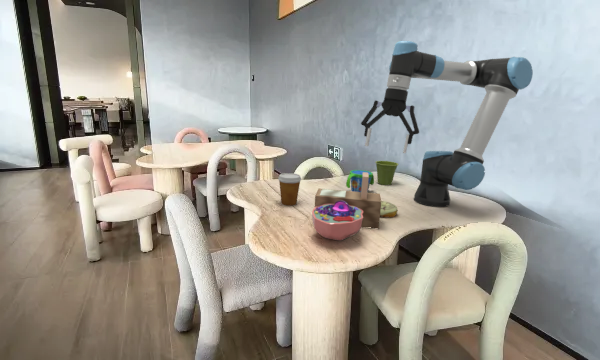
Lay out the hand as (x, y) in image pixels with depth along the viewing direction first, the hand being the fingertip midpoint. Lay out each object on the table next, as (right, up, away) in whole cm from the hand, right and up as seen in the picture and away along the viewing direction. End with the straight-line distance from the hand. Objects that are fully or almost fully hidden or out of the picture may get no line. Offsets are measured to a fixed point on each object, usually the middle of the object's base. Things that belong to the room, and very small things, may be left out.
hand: (385, 149), depth 125 cm
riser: (-13, -26, +4) cm, 29 cm away
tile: (-8, -17, +1) cm, 18 cm away
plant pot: (+14, -13, +59) cm, 62 cm away
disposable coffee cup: (-35, -21, +21) cm, 46 cm away
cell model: (-19, -30, -10) cm, 36 cm away
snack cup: (-2, -17, +40) cm, 44 cm away
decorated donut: (+2, -25, +14) cm, 28 cm away
